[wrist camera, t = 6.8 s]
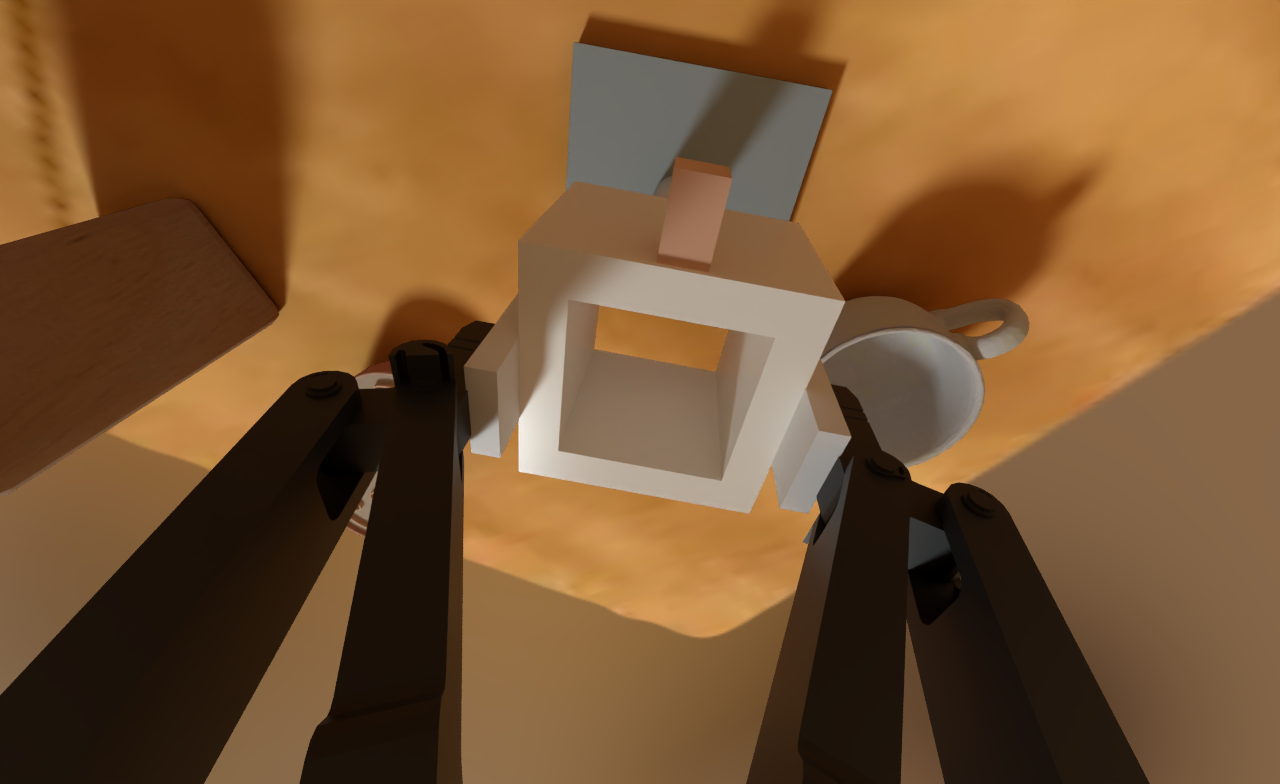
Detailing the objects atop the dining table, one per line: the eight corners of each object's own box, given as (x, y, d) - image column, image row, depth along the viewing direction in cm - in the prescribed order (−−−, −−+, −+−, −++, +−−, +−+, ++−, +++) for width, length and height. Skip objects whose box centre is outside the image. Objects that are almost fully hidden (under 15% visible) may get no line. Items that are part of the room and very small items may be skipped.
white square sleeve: (737, 400, 20) (749, 513, 15) (563, 368, 20) (518, 471, 15) (822, 156, 14) (887, 209, 9) (580, 110, 14) (517, 140, 9)
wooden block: (191, 190, 33) (-291, 324, 17) (290, 315, 38) (-4, 507, 22) (96, 227, 35) (-406, 376, 19) (201, 340, 41) (-121, 530, 25)
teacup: (809, 420, 40) (832, 492, 33) (754, 320, 35) (767, 382, 28) (995, 349, 34) (1065, 419, 28) (961, 219, 29) (1035, 267, 23)
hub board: (578, 42, 26) (531, 39, 18) (827, 89, 26) (880, 104, 19) (564, 279, 34) (528, 343, 27) (753, 313, 34) (769, 386, 27)
